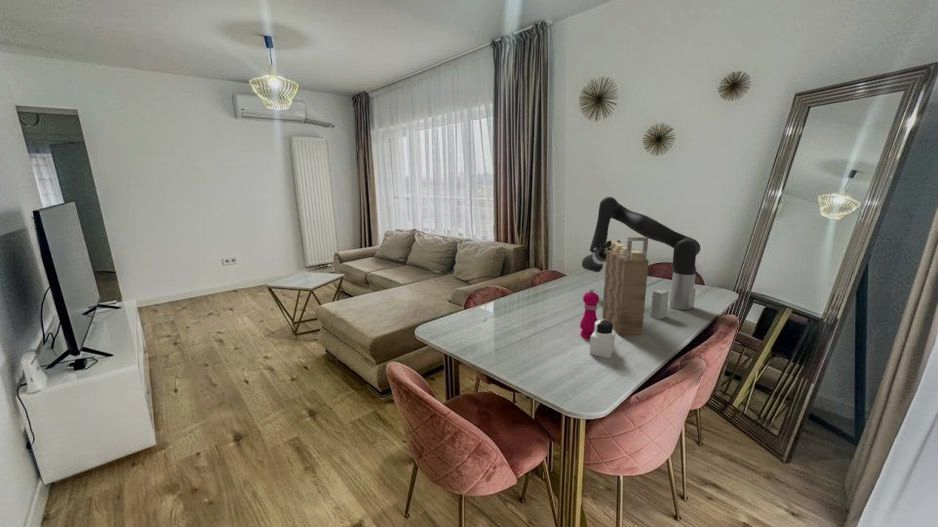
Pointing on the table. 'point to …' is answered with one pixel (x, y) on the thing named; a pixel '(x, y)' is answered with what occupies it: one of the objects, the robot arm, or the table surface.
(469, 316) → the table surface
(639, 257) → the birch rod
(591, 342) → the medicine bottle
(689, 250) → the robot arm
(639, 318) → the brown tall blocky piece
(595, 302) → the pepper mill
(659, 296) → the skincare box
